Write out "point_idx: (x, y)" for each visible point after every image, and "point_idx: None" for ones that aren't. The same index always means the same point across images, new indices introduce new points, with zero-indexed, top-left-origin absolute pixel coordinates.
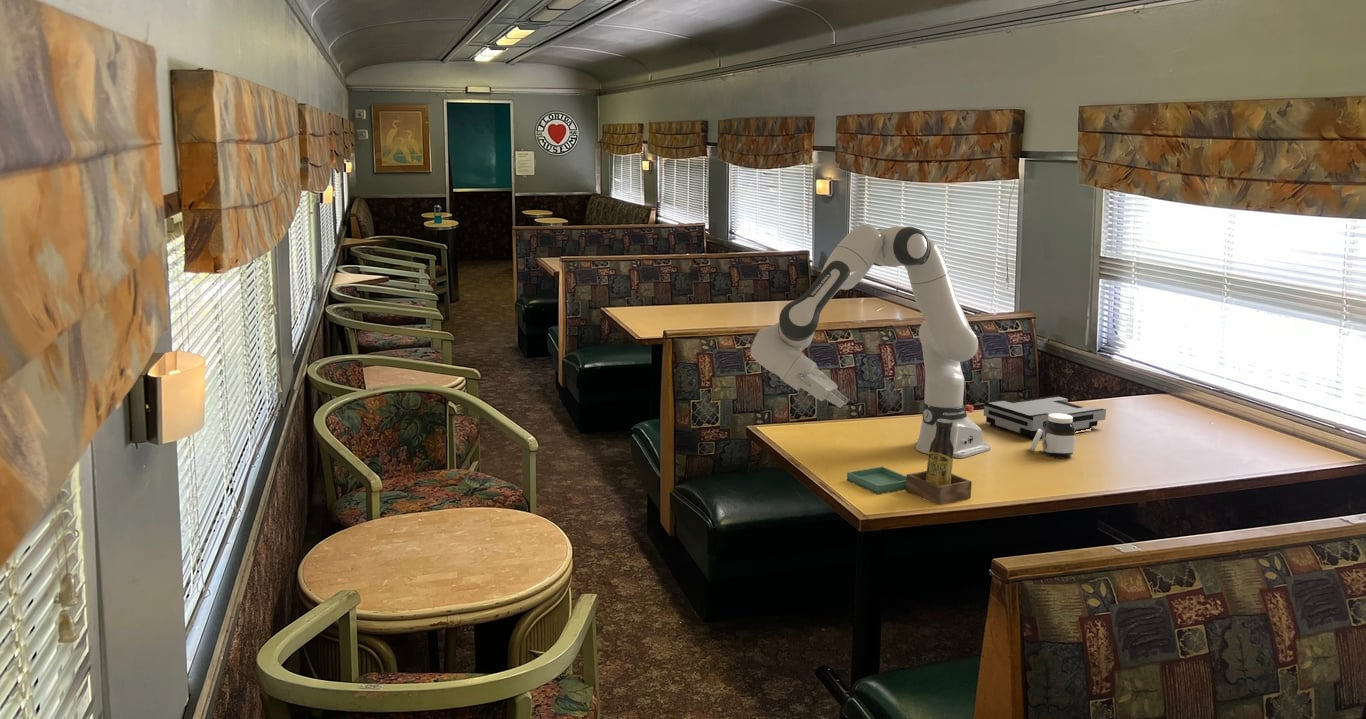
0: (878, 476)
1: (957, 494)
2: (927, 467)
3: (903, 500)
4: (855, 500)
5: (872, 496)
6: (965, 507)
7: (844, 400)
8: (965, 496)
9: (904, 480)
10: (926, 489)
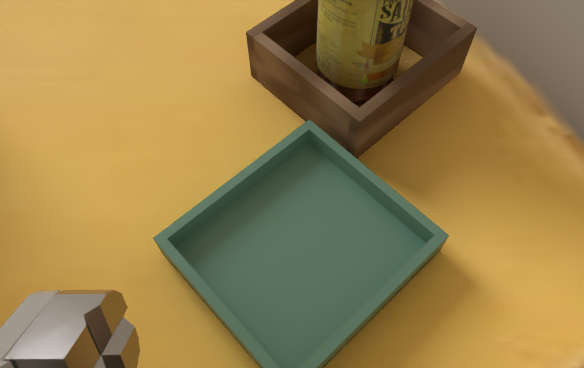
0: (233, 257)
1: None
2: (378, 30)
3: (465, 163)
4: (560, 333)
5: (471, 269)
6: None
7: (97, 347)
8: None
9: (333, 148)
10: (433, 77)
